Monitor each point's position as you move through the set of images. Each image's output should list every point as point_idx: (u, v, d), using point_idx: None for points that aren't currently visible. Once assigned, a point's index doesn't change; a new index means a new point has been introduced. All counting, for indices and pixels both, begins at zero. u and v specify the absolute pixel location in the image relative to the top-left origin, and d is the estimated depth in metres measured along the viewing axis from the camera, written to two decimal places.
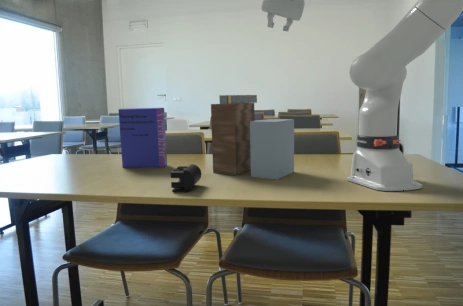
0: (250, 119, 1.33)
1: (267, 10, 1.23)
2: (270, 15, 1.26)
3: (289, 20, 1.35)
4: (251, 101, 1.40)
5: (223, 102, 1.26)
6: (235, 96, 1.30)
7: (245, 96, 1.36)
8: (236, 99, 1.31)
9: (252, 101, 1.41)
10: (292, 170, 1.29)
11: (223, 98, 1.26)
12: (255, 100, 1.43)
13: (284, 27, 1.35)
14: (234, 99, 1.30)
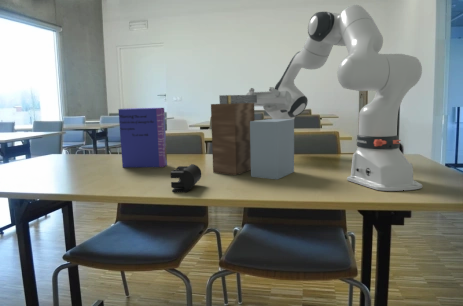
0: (250, 119, 1.33)
1: None
2: None
3: None
4: (251, 101, 1.40)
5: (223, 102, 1.26)
6: (235, 96, 1.30)
7: (245, 96, 1.36)
8: (236, 99, 1.31)
9: (252, 101, 1.41)
10: (292, 170, 1.29)
11: (223, 98, 1.26)
12: (255, 100, 1.43)
13: None
14: (234, 99, 1.30)
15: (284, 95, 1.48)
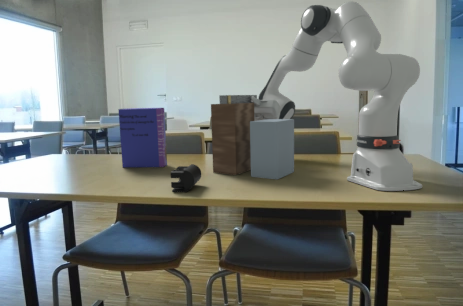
0: (250, 119, 1.33)
1: None
2: None
3: None
4: None
5: (223, 102, 1.26)
6: (235, 96, 1.30)
7: (245, 96, 1.36)
8: (236, 99, 1.31)
9: None
10: (292, 170, 1.29)
11: (223, 98, 1.26)
12: None
13: None
14: (234, 99, 1.30)
15: (271, 104, 1.38)
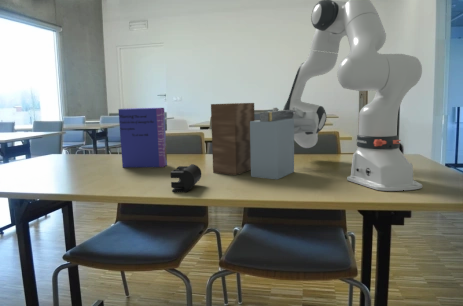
0: (250, 119, 1.33)
1: None
2: None
3: None
4: (289, 117, 1.32)
5: (264, 119, 1.19)
6: (275, 113, 1.22)
7: (284, 112, 1.28)
8: (277, 116, 1.23)
9: (290, 117, 1.33)
10: (292, 170, 1.29)
11: (264, 115, 1.18)
12: None
13: None
14: (274, 116, 1.22)
15: (311, 116, 1.30)
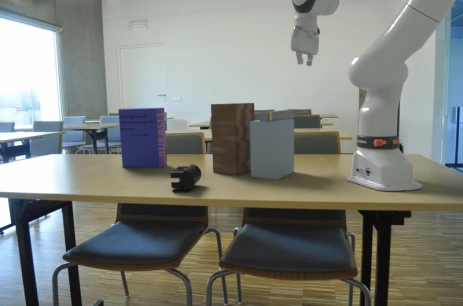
0: (250, 119, 1.33)
1: (298, 48, 1.32)
2: (299, 53, 1.35)
3: (310, 55, 1.45)
4: (289, 117, 1.32)
5: (264, 119, 1.19)
6: (275, 113, 1.22)
7: (284, 112, 1.28)
8: (277, 116, 1.23)
9: (290, 117, 1.33)
10: (292, 170, 1.29)
11: (264, 115, 1.18)
12: (293, 115, 1.35)
13: (307, 62, 1.45)
14: (274, 116, 1.22)
15: None
